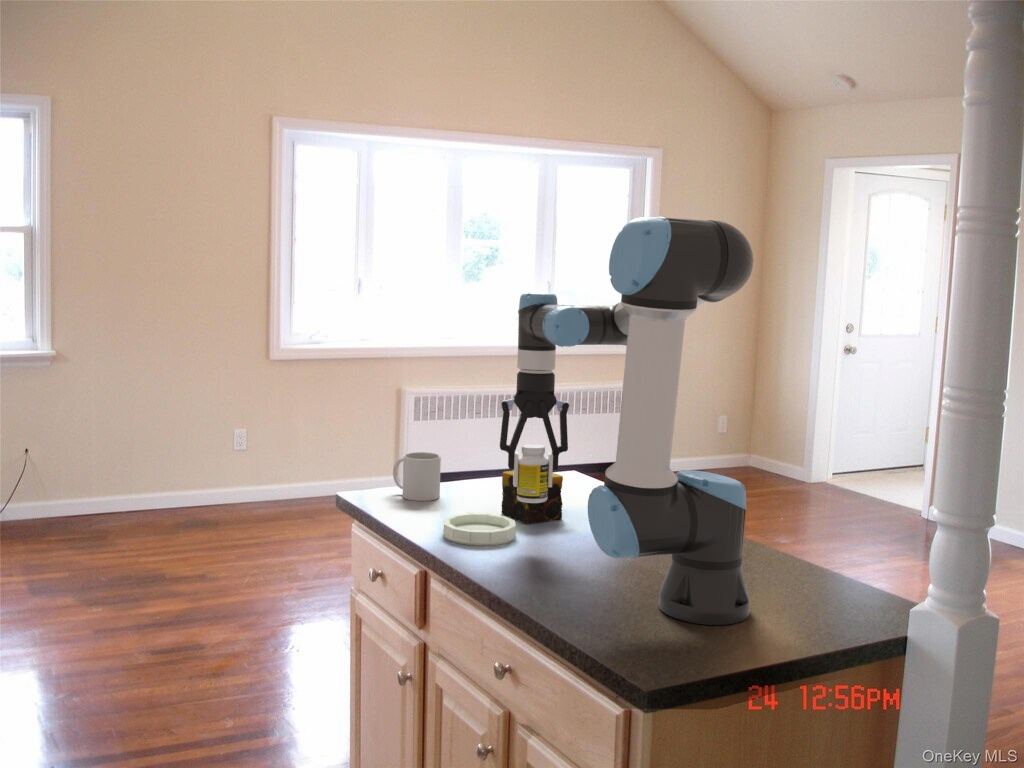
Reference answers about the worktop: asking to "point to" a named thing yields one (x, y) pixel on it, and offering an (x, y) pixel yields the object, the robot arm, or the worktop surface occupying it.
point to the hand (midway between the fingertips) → (532, 485)
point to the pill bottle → (532, 474)
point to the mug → (419, 476)
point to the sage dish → (479, 529)
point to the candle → (531, 511)
